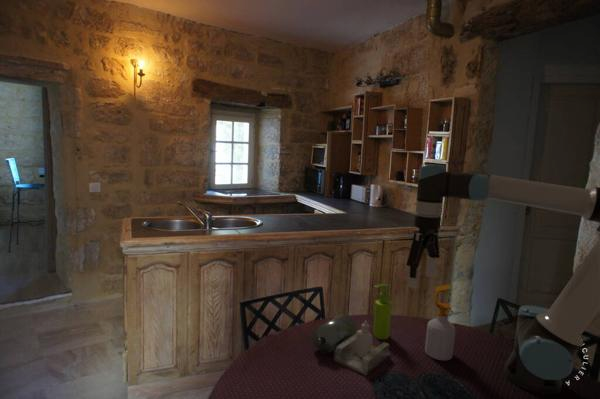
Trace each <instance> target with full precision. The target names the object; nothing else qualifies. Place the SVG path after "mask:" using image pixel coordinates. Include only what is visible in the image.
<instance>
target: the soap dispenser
mask: <svg viewBox="0 0 600 399" xmlns="http://www.w3.org/2000/svg"><path fill="white" fill-rule="evenodd" d="M374 287H375V288H376V289H379V288H382V289H381V291H380V292H379V296H378V297H379V298H378V299H376V300H375V301H374V302H375V304H374V316H373V327H372V328H373V330H372V337H374V338H376V339H378V340H387V339H389V337H390V327H391V316H392V304H393V303H392V302H391V301H390V300H389V297H390V294H389V292H388V288H390V285H389V284H387V283H378V284H376V285H374Z"/></svg>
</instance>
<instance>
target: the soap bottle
mask: <svg viewBox="0 0 600 399" xmlns="http://www.w3.org/2000/svg"><path fill="white" fill-rule="evenodd" d="M451 290H452V287H451V285H449V284H443V285H439V286H436V287H435V289H434V296H433V297H434V298H433V302H434V303H435V306H436V308H438V309H439V311H437V314H436V317H435V318H432V319H430V320H429V321H428V322H427V326H426V335H425V336H426V337H425V343H424V352H425V354H426V355H427V356H429V357H430V358H432V359H435V360H438V361H449V360H451V359H452V358H453V355H454V349H455V348H454V346H455V339H456V338H455V337H456V327H455V325H453V323H452V322H451V321H449V320H448V315H449V314H448V313H447V312H446V311H448V310H452V307H451V305H450V303H445V302H439V301H438V298H439V294H440V293H442V292H447V291H451Z"/></svg>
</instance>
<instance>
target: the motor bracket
mask: <svg viewBox="0 0 600 399" xmlns="http://www.w3.org/2000/svg"><path fill="white" fill-rule="evenodd" d="M356 334H357V327H356V324H355V322H354V319H352V318H351V316H349V315H348V314H342V313H340V314H339V315H337V316H335V317H333V318H331V319H330V320H328V321H326V322H325V323H323V324H321V325H319V326H318V327H315V328H314V329H313V332H312V335H311V336H312V338H311V340H312V343H313V346H314V347H315V348H316V350H317V351H318V352H320V353H321V354H324V355H328V354H330V353H332V352H333V355H332V357H333V361H334V362H336V363H337V364H340V365H342V366H344V367H346V368H348V369H351V370H353V371H354V372H356V373H359V374H361V375H363V376H365V377H366V376H368V375H369V374H370V373H371V372H373V371H374V370H375V369H376V368H377V367H378V366H379V365H380V364H381V363H383V362H384V361H385V360H386V359H387V358H388V357H390V355H391V354H390V344H389V343H387V342H385V341H383V342H382V343H380V344H379V345H377V346H375V345H373V344H372V352H370V353H369V354H368V355H367V356H365V357H364V358H362V357H360V356H358V355H357V354H356V353H355V346H356Z"/></svg>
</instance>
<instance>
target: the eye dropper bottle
mask: <svg viewBox="0 0 600 399" xmlns="http://www.w3.org/2000/svg"><path fill="white" fill-rule="evenodd" d="M356 333H357V334H356ZM356 333H355V334H356V346H355V353H356V354H357V355H358V356H360V357H362V358H364V357H365V356H367V355H368V354H369V353H370V352H372V345H373V337H374V336H373V334H371V332H370V325H369V324H368V320H364V322H363V323H362V324H361V329H358V330H356Z"/></svg>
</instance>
